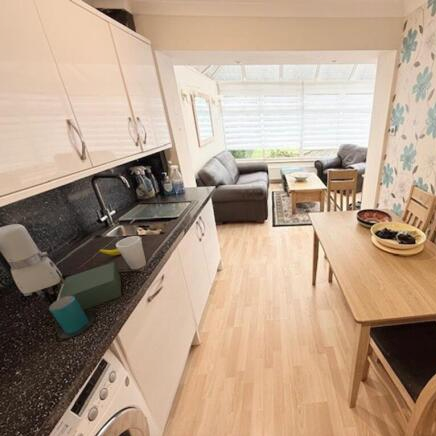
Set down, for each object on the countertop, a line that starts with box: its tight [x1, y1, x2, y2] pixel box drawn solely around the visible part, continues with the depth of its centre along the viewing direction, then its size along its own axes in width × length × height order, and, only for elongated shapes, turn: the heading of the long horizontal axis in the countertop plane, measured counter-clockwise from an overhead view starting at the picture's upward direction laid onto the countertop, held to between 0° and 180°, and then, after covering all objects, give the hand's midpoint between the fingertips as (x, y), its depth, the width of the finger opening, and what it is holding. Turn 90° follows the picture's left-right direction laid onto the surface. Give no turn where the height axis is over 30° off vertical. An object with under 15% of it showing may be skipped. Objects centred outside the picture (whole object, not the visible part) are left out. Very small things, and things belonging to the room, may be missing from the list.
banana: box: [97, 236, 143, 256], centre depth 121 cm, size 3×19×6 cm, turn 131°
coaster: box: [56, 312, 96, 340], centre depth 80 cm, size 10×10×1 cm
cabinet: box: [59, 261, 122, 312], centre depth 93 cm, size 16×15×8 cm
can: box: [48, 296, 88, 333], centre depth 78 cm, size 6×6×10 cm
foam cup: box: [115, 235, 147, 270], centre depth 108 cm, size 10×9×13 cm
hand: (54, 301), depth 87 cm, fingers closed
